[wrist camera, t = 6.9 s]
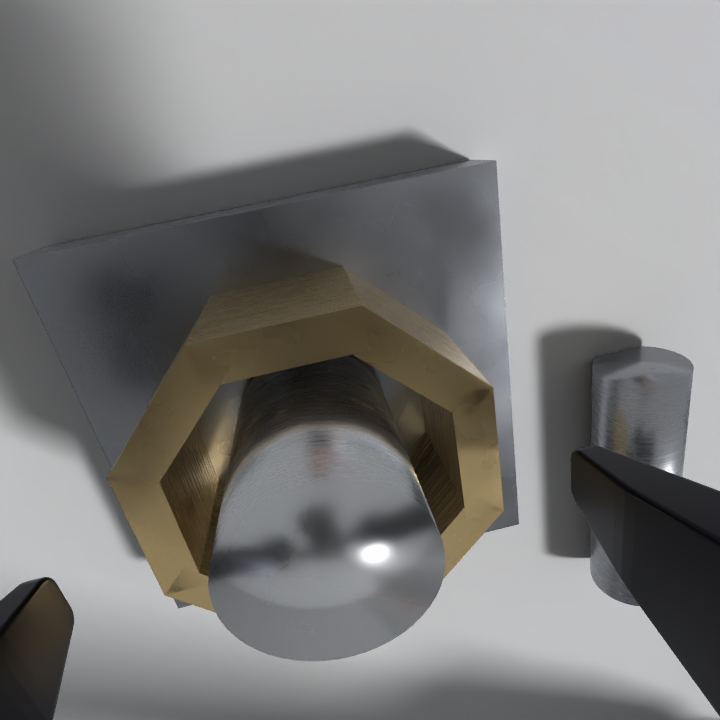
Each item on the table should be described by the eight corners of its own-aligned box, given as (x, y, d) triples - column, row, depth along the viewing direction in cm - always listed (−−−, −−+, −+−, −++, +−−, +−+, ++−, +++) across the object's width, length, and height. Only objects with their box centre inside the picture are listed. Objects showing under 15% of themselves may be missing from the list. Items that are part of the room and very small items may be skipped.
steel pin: (576, 557, 18) (638, 540, 18) (618, 614, 15) (689, 594, 16) (575, 357, 14) (651, 340, 15) (628, 394, 12) (717, 372, 12)
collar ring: (465, 495, 14) (509, 581, 11) (215, 557, 13) (198, 662, 11) (434, 246, 11) (483, 278, 8) (116, 316, 10) (54, 374, 8)
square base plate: (498, 491, 16) (626, 697, 10) (187, 567, 15) (125, 833, 9) (471, 159, 12) (663, 167, 6) (45, 246, 11) (-229, 354, 5)
